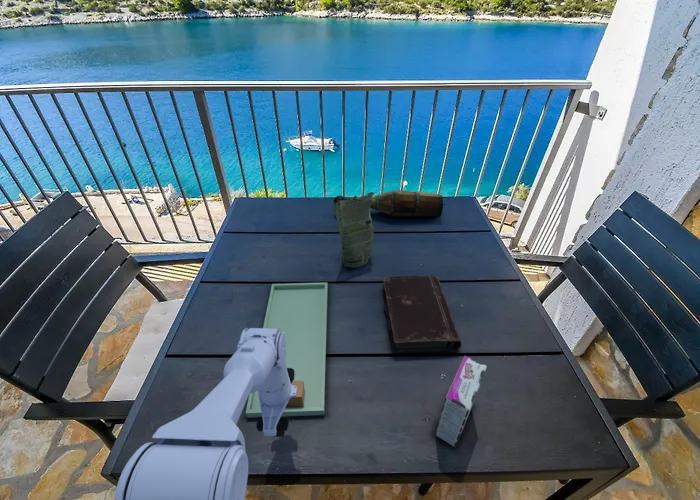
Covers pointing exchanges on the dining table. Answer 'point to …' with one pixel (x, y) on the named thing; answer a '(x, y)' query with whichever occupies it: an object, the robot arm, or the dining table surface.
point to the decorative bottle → (405, 203)
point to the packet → (300, 396)
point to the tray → (300, 341)
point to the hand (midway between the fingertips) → (281, 415)
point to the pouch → (355, 229)
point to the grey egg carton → (460, 400)
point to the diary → (418, 315)
